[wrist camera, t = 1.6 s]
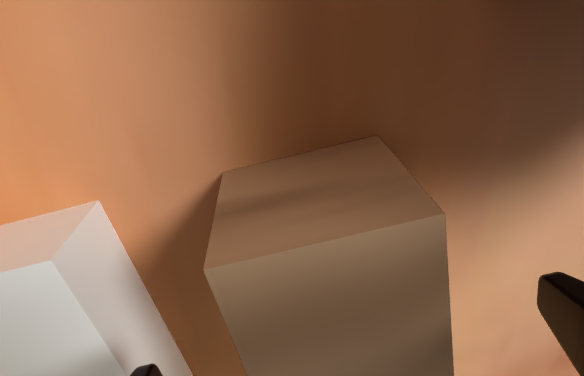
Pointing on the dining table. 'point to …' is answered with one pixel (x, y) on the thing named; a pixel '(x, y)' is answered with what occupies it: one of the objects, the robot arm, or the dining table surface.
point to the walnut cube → (332, 266)
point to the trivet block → (76, 301)
